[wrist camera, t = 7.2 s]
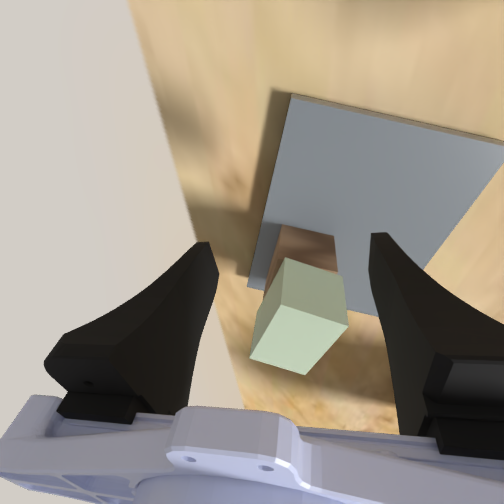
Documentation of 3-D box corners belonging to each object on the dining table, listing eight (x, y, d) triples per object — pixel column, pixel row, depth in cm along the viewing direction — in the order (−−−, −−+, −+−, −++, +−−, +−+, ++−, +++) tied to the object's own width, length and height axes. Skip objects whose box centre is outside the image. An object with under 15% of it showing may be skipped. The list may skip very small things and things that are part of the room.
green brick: (342, 276, 20) (348, 326, 17) (305, 327, 24) (304, 375, 21) (285, 257, 19) (280, 304, 16) (257, 311, 23) (249, 358, 20)
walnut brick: (334, 235, 23) (338, 272, 20) (310, 289, 27) (310, 326, 24) (282, 224, 23) (277, 258, 20) (266, 279, 27) (260, 315, 24)
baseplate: (503, 141, 18) (514, 148, 17) (383, 308, 28) (386, 318, 28) (292, 93, 18) (291, 97, 17) (248, 277, 28) (246, 286, 28)
